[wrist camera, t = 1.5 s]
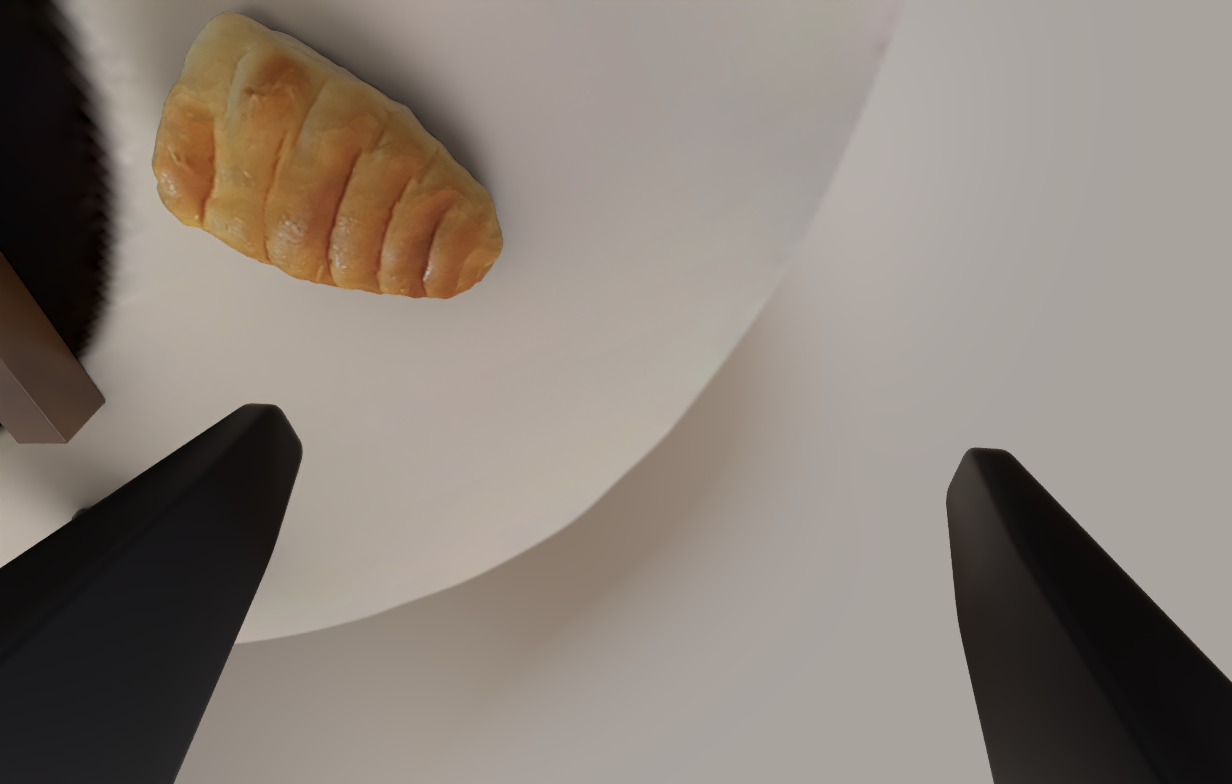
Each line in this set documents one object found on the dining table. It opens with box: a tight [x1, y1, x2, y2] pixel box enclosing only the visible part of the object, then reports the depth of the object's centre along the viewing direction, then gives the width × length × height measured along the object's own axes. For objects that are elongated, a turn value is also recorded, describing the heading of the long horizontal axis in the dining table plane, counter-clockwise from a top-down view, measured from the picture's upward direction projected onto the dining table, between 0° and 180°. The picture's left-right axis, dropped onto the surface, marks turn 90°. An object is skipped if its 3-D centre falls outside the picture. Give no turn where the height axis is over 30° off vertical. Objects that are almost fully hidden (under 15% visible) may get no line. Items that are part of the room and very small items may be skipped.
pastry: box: [152, 12, 503, 299], centre depth 20 cm, size 9×7×4 cm
